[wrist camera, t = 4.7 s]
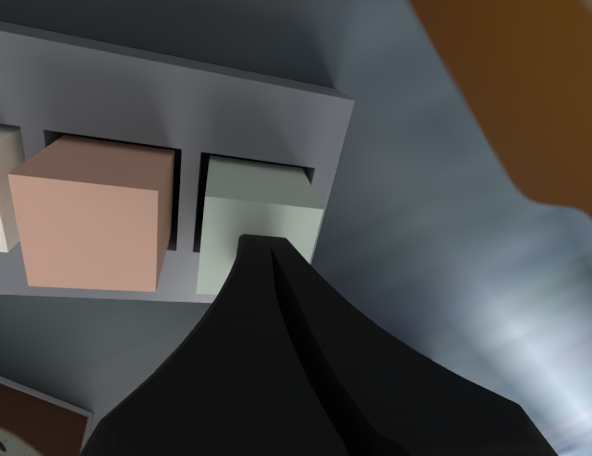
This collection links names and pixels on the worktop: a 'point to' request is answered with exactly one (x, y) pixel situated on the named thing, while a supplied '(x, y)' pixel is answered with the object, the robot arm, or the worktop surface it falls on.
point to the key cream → (3, 159)
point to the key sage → (252, 213)
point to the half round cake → (40, 423)
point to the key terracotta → (94, 214)
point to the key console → (162, 129)
